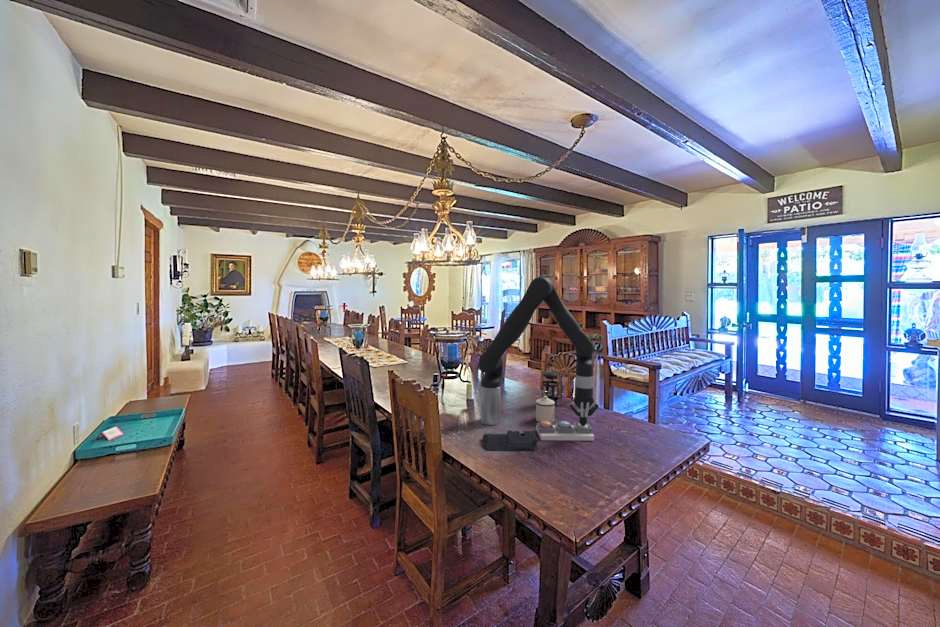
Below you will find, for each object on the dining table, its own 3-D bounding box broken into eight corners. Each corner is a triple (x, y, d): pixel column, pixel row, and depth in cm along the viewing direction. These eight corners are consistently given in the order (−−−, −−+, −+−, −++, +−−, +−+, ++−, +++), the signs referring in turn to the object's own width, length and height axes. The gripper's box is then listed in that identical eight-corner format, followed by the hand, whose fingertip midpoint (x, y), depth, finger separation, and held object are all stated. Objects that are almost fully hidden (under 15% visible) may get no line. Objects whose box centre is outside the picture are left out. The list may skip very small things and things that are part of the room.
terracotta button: (541, 429, 159) (541, 424, 159) (539, 425, 164) (539, 420, 164) (551, 429, 159) (551, 424, 159) (549, 425, 164) (549, 420, 164)
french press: (543, 407, 198) (543, 364, 196) (537, 402, 207) (538, 361, 206) (564, 406, 200) (565, 364, 198) (557, 401, 209) (558, 360, 207)
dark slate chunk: (481, 437, 160) (481, 426, 160) (532, 436, 161) (533, 426, 160) (483, 452, 145) (483, 441, 144) (540, 452, 145) (540, 440, 145)
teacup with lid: (557, 423, 175) (557, 398, 174) (538, 423, 174) (538, 399, 173) (549, 414, 187) (549, 391, 186) (531, 415, 186) (531, 392, 185)
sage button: (579, 431, 159) (579, 427, 159) (576, 427, 164) (576, 423, 164) (589, 431, 159) (589, 427, 159) (586, 427, 164) (586, 423, 163)
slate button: (560, 429, 159) (560, 424, 159) (557, 425, 164) (558, 420, 163) (570, 429, 159) (570, 424, 159) (568, 425, 164) (568, 420, 163)
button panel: (540, 440, 156) (540, 430, 155) (535, 429, 168) (535, 420, 167) (594, 440, 156) (594, 431, 155) (585, 429, 168) (586, 420, 167)
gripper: (570, 387, 156) (569, 428, 158) (602, 387, 156) (601, 428, 157) (566, 383, 164) (565, 421, 165) (596, 383, 164) (595, 422, 165)
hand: (583, 425), depth 161 cm, fingers closed
